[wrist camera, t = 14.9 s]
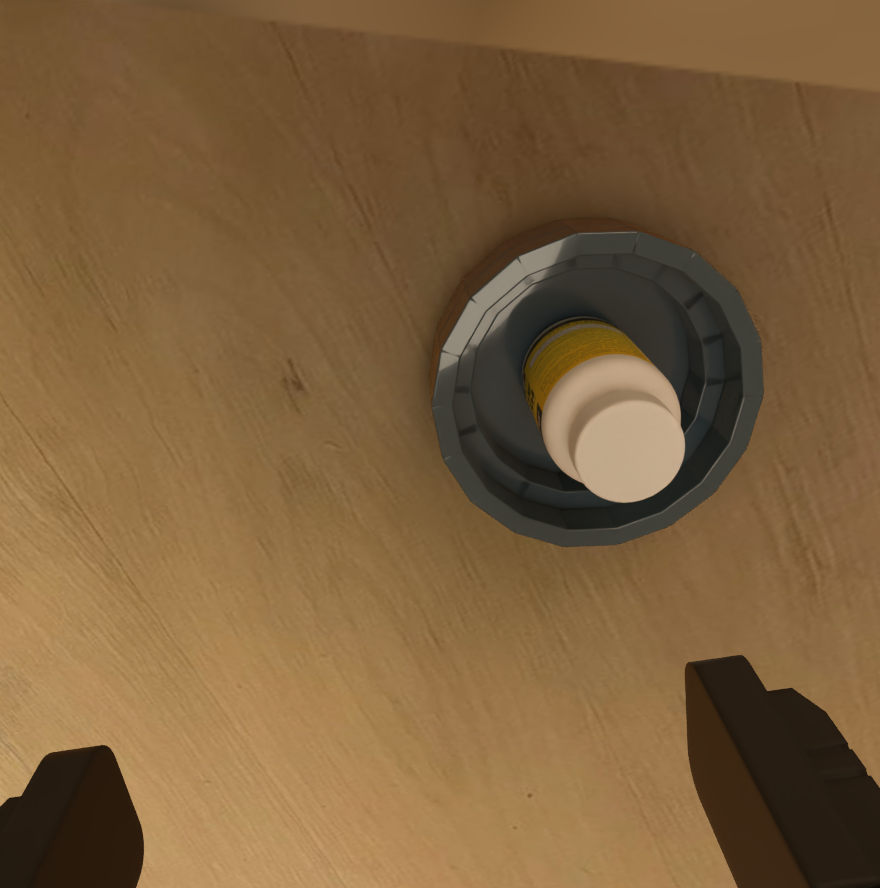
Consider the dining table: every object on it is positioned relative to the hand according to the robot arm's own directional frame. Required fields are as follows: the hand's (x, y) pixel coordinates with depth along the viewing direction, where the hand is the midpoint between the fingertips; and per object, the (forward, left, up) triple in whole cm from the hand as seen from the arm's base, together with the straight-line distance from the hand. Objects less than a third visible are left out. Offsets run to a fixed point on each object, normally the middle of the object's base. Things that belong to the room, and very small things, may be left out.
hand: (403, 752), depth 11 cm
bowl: (+3, +8, -28) cm, 29 cm away
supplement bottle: (+3, +8, -28) cm, 29 cm away
